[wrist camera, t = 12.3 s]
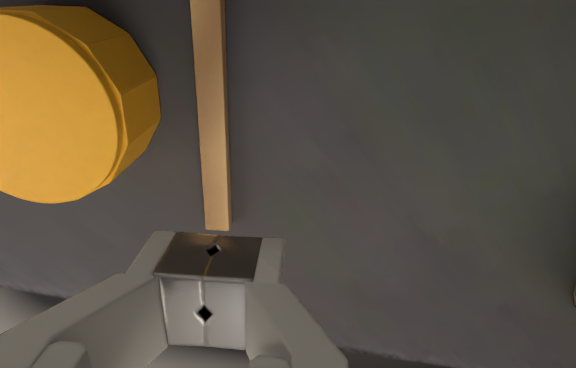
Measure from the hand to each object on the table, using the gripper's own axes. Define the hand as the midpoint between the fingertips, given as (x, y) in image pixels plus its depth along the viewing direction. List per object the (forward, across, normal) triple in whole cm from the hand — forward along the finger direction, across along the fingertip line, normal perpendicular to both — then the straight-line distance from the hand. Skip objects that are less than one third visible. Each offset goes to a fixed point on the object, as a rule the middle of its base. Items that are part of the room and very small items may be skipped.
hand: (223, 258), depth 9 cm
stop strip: (+14, +3, 0) cm, 15 cm away
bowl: (+9, +11, 0) cm, 14 cm away
